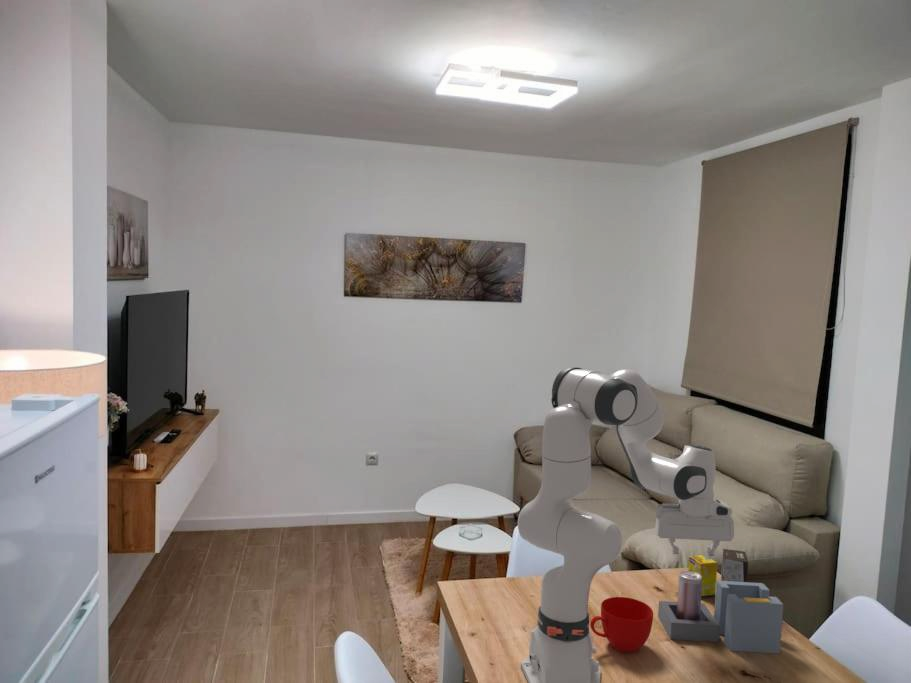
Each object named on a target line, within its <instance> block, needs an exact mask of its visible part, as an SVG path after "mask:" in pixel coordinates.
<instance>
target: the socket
mask: <svg viewBox="0 0 911 683" xmlns="http://www.w3.org/2000/svg"><path fill="white" fill-rule="evenodd" d="M770 591H771V590H770V589H769V588H768V587H767V586H766V584H764V583H762V582H748V581H747V582H733V581H721V580H716V589H715V597H714V608H713V609H714V612H713V617H714V618H715V620H716V621H717V622H718V624H719V625H720V628H719V635H724V637H723V643H724V644H725V646H726V648H727V649H728V650H729V652H730V651H731V652H732V651H733V652H747V653H749V652H750V653H764V654H777V655H778V654H780V652H781V638H782V627H783V613H784V604H783V602H782V601H781V600H780V599H779V598H778V597H777V596H770ZM780 655H781V654H780Z"/></svg>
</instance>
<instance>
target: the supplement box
mask: <svg viewBox="0 0 911 683" xmlns="http://www.w3.org/2000/svg"><path fill="white" fill-rule="evenodd" d="M687 571H691V572H695V573H698V574H699V575H701V577H702V592H701V599H708V597H709V598H715V594H716V581H717V574H718V561H715V560H713V559H712V558H710V556H708V555H707V554H706V555H705V554H700V555H699V554H698V555H690V556H689V557H688V570H687Z"/></svg>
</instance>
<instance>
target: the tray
mask: <svg viewBox="0 0 911 683" xmlns="http://www.w3.org/2000/svg"><path fill="white" fill-rule="evenodd" d="M676 614H677V601H667V600H666V601H665V600H659V601H658V611H657V617H658V619H659V621H660V623H661V625H662V627H663V628H664V631H665V632H666V634H667V636H668V638H669V640H677V641H678V640H681V641H693V642H694V641H695V642H707V643H709V642H710V643H711V642H713V643H719V642H720V641H719V640H720V639H719V638H720V634H719V628H720V625H719V624H718V622H717V621H716V620H715V618H714V614H712V613H711V611H710V610H709V608H708V607H707V606H706V605H705V603H701V607H700V621H695V620H679V619H676Z"/></svg>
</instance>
